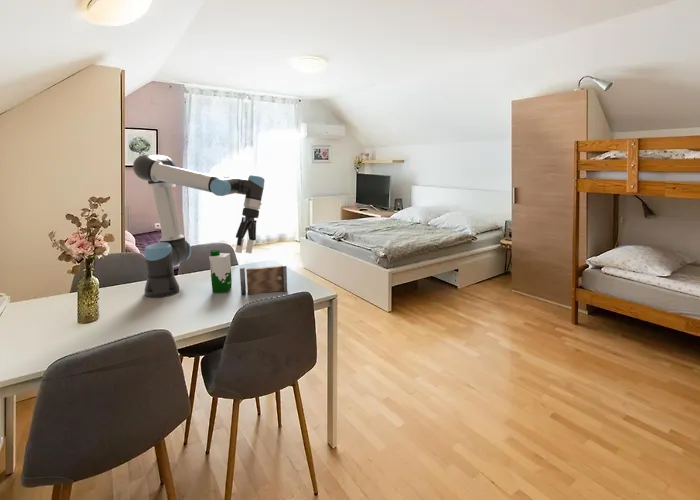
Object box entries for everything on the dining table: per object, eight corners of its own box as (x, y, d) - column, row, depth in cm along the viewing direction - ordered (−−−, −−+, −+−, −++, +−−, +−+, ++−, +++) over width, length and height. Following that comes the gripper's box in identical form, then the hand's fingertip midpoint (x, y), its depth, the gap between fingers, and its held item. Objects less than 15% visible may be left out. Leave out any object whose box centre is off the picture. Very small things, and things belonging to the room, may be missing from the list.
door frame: (241, 295, 188) (239, 269, 185) (241, 294, 190) (239, 267, 187) (287, 291, 194) (286, 265, 191) (286, 290, 196) (285, 264, 193)
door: (248, 295, 187) (247, 270, 185) (247, 293, 191) (246, 268, 188) (286, 291, 194) (285, 267, 191) (284, 288, 197) (284, 265, 195)
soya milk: (216, 287, 199) (213, 248, 195) (234, 287, 199) (231, 248, 195) (209, 293, 191) (206, 252, 187) (228, 293, 191) (226, 252, 186)
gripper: (250, 206, 176) (241, 254, 176) (266, 212, 201) (259, 254, 201) (234, 203, 177) (225, 251, 177) (252, 210, 201) (245, 251, 201)
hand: (243, 252), depth 189 cm, fingers open, 13 cm apart
